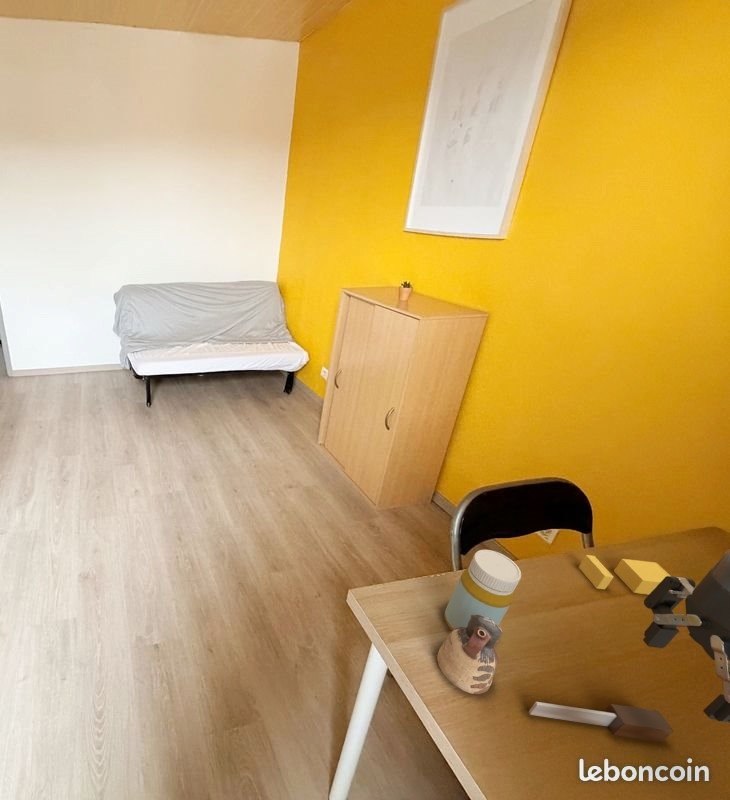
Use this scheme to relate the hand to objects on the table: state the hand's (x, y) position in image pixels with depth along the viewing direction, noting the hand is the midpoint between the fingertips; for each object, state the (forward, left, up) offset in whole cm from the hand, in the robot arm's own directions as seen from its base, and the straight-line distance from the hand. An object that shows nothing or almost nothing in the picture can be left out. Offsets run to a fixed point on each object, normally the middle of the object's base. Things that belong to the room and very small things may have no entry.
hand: (681, 677), depth 51 cm
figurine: (+20, -5, -13) cm, 24 cm away
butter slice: (-12, -27, -13) cm, 32 cm away
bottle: (+16, -13, -13) cm, 24 cm away
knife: (+5, 0, -13) cm, 14 cm away
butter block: (-21, -27, -13) cm, 36 cm away
